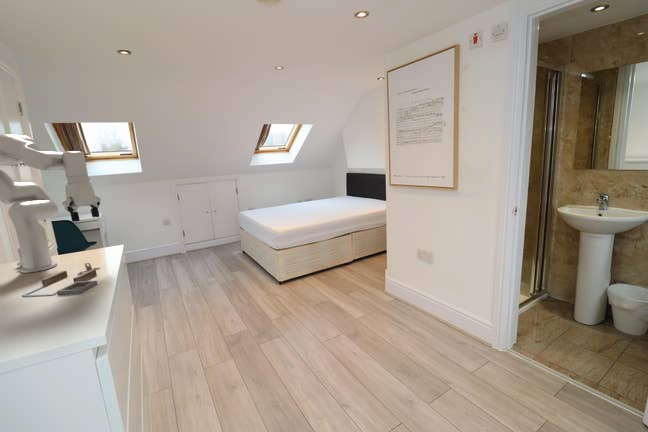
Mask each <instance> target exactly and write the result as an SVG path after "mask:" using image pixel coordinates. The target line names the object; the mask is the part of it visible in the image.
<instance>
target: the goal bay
mask: <svg viewBox="0 0 648 432" xmlns="http://www.w3.org/2000/svg"><path fill="white" fill-rule="evenodd" d="M44 288H46V286H43V285H42V286H40V287H38V288H36V289H33V290H31V291H29V292H26V293H24V294H21V296H22V298H28V297H31V298H32V297H51V296H55V295H57V291H55V292H53V293H45V294H44V293H43V294H42V293H41V294H33V293H35V292H37V291H39V290H41V289H44Z"/></svg>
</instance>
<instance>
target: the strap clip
mask: <svg viewBox="0 0 648 432" xmlns="http://www.w3.org/2000/svg"><path fill="white" fill-rule="evenodd" d="M84 267H85V270H83V271H79V272H77V276H79V275H81V274H84V273H86V272H88V271H90V270H92V269H96V271H97V270H98V271H99V270H100V269H101V267H92V264H91V263H90V262H86V263H84Z"/></svg>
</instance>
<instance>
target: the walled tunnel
mask: <svg viewBox="0 0 648 432" xmlns="http://www.w3.org/2000/svg"><path fill="white" fill-rule="evenodd" d="M96 269H97V268H96ZM96 269H94V268H92V270H90V271H88V272H86V273H84V274H81V275H77V276H75V277H73V278H72V280H73V283H75V282H77V281H88V280H89V279H91V278H93V277H95V276H97V270H96ZM66 277H68V272H67V270H61V271H60V272H57V273H55V274H52V275H49V276H47V277H45V278H41V283H42V286H45V287H46V286H49V285H51V284H53V283H56V282H58V281H60V280H63V279H64V278H66Z"/></svg>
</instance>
